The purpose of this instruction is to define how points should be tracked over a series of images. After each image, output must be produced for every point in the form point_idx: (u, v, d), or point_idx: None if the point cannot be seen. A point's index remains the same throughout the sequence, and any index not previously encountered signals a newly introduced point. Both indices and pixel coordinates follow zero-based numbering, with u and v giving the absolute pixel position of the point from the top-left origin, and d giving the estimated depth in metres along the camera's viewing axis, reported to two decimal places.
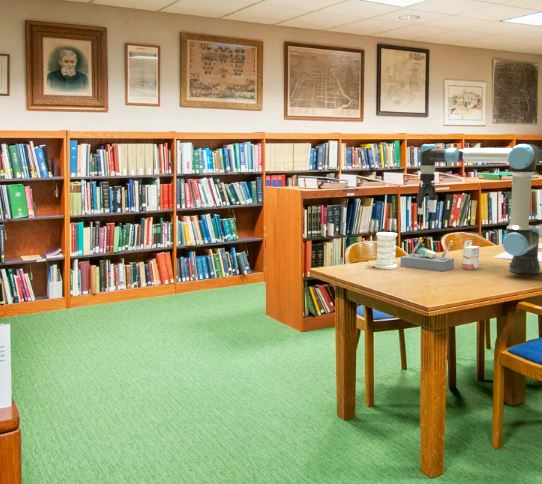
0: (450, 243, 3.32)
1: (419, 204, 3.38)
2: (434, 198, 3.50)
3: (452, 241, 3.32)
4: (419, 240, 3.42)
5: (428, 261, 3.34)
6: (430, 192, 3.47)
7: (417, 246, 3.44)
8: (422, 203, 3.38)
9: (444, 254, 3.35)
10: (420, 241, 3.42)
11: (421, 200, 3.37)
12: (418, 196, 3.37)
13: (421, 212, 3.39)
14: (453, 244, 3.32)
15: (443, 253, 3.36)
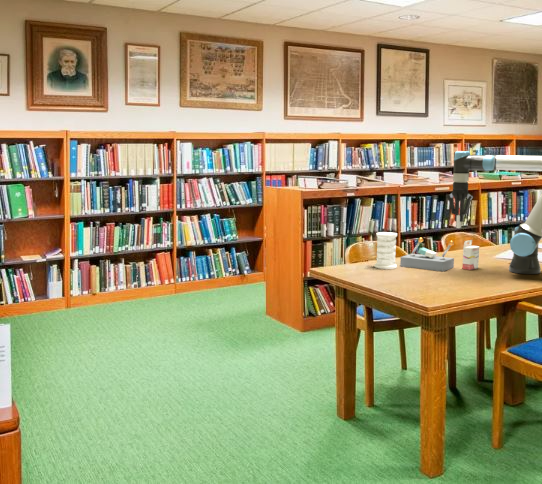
0: (450, 243, 3.32)
1: None
2: (460, 213, 3.27)
3: (452, 241, 3.32)
4: (419, 240, 3.42)
5: (428, 261, 3.34)
6: None
7: (417, 246, 3.44)
8: (456, 216, 3.28)
9: (444, 254, 3.35)
10: (420, 241, 3.42)
11: (454, 213, 3.29)
12: None
13: None
14: (453, 244, 3.32)
15: (443, 253, 3.36)
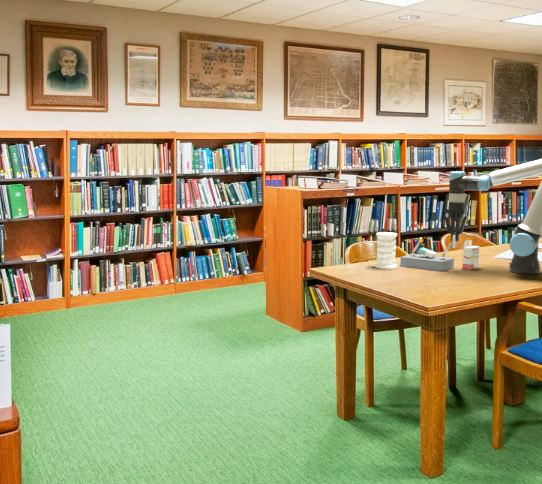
0: (450, 243, 3.32)
1: None
2: (456, 233, 3.29)
3: (452, 241, 3.32)
4: (419, 240, 3.42)
5: (428, 261, 3.34)
6: None
7: (417, 246, 3.44)
8: (453, 236, 3.31)
9: (444, 254, 3.35)
10: (420, 241, 3.42)
11: (451, 232, 3.31)
12: None
13: None
14: None
15: (443, 253, 3.36)
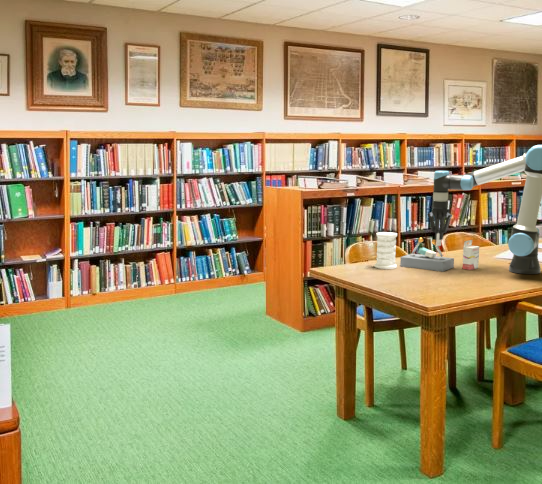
0: (433, 242, 3.38)
1: None
2: (440, 231, 3.34)
3: None
4: (419, 240, 3.42)
5: (428, 261, 3.34)
6: None
7: (417, 246, 3.44)
8: (436, 234, 3.36)
9: (440, 253, 3.37)
10: (420, 241, 3.42)
11: (435, 231, 3.36)
12: None
13: None
14: None
15: None
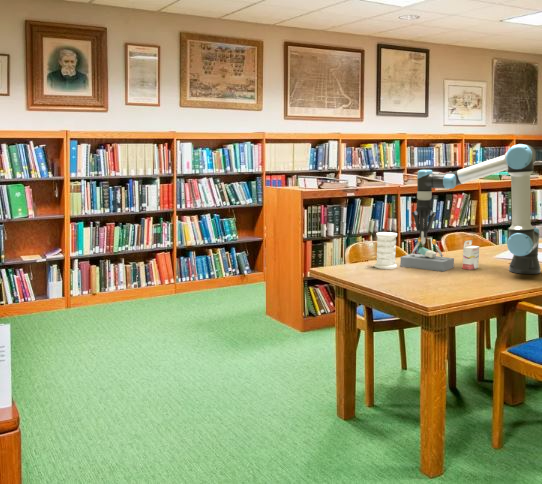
0: (433, 242, 3.38)
1: None
2: (424, 229, 3.40)
3: None
4: (419, 240, 3.42)
5: (428, 261, 3.34)
6: None
7: (417, 246, 3.44)
8: (421, 232, 3.41)
9: (440, 253, 3.37)
10: (420, 241, 3.42)
11: (419, 229, 3.42)
12: None
13: None
14: None
15: None
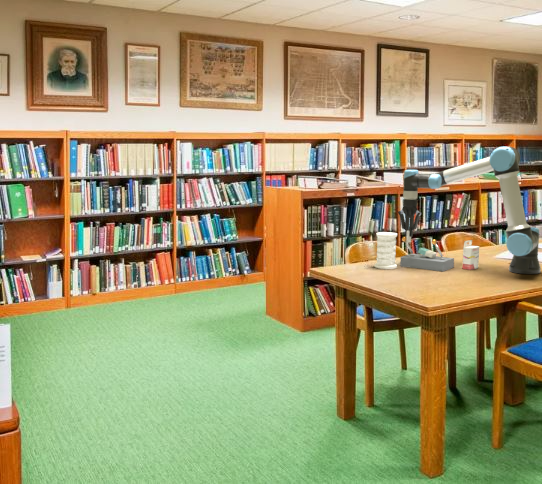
0: (433, 242, 3.38)
1: None
2: (410, 229, 3.45)
3: None
4: (403, 239, 3.48)
5: (428, 261, 3.34)
6: None
7: (408, 245, 3.47)
8: (407, 231, 3.46)
9: (440, 253, 3.37)
10: (404, 239, 3.48)
11: (405, 228, 3.47)
12: None
13: None
14: None
15: None
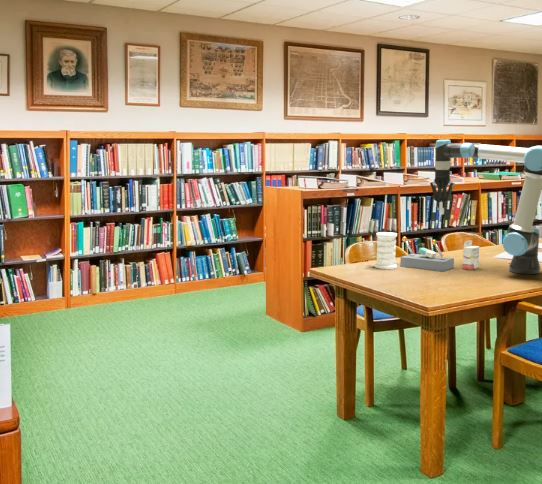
0: (433, 242, 3.38)
1: None
2: (443, 200, 3.38)
3: None
4: (403, 239, 3.48)
5: (428, 261, 3.34)
6: None
7: (408, 245, 3.47)
8: (439, 203, 3.39)
9: (440, 253, 3.37)
10: (404, 239, 3.48)
11: (437, 200, 3.40)
12: None
13: None
14: None
15: None
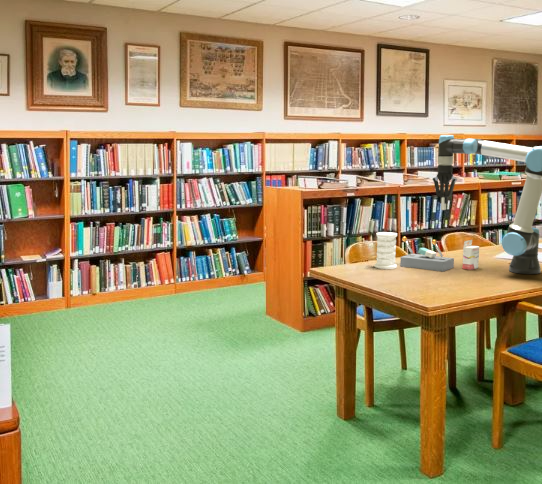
0: (433, 242, 3.38)
1: None
2: (445, 195, 3.38)
3: None
4: (403, 239, 3.48)
5: (428, 261, 3.34)
6: None
7: (408, 245, 3.47)
8: (441, 198, 3.39)
9: (440, 253, 3.37)
10: (404, 239, 3.48)
11: (439, 195, 3.40)
12: None
13: None
14: None
15: None
